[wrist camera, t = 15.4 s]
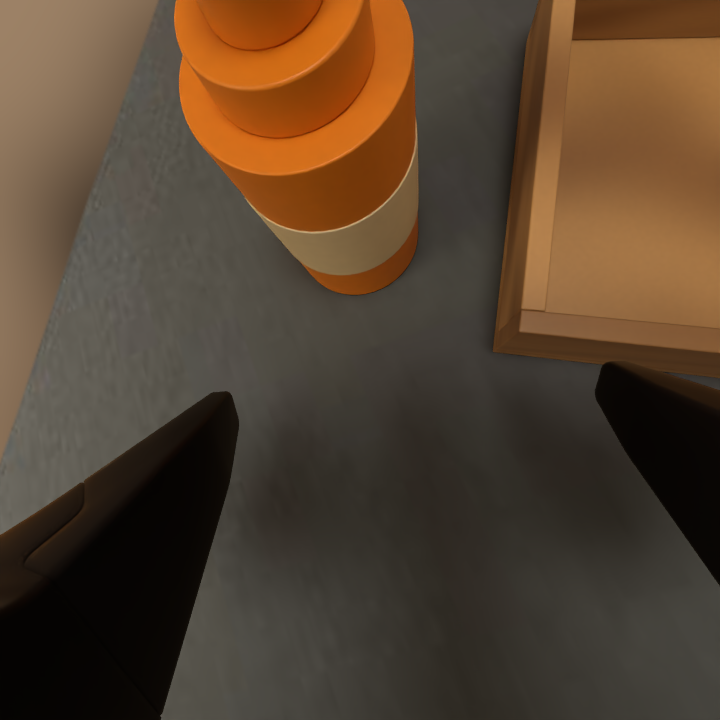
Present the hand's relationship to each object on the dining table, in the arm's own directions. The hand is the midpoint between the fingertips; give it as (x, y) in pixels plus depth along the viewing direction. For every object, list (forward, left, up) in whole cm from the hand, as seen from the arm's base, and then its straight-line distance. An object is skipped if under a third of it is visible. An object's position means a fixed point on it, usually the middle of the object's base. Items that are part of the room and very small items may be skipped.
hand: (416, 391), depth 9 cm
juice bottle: (+2, +8, -9) cm, 12 cm away
